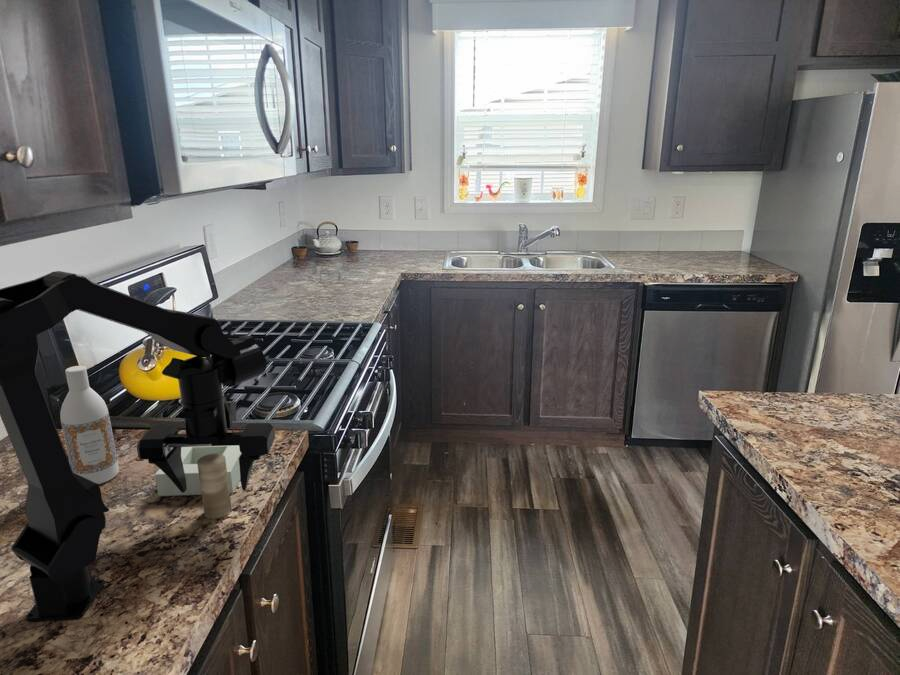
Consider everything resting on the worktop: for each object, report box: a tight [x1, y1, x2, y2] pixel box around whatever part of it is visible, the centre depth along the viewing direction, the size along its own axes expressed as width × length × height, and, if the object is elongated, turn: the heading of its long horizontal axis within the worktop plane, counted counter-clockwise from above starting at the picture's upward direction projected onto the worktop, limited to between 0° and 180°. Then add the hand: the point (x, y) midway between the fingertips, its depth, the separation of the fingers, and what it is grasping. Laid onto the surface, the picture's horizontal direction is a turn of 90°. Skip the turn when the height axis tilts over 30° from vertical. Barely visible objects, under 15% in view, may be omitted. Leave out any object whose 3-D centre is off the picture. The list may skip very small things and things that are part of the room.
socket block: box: [154, 445, 241, 497], centre depth 105 cm, size 12×12×4 cm
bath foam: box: [59, 365, 120, 485], centre depth 102 cm, size 7×7×20 cm
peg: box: [197, 454, 233, 520], centre depth 94 cm, size 4×4×9 cm
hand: (214, 490), depth 94 cm, fingers open, 9 cm apart
